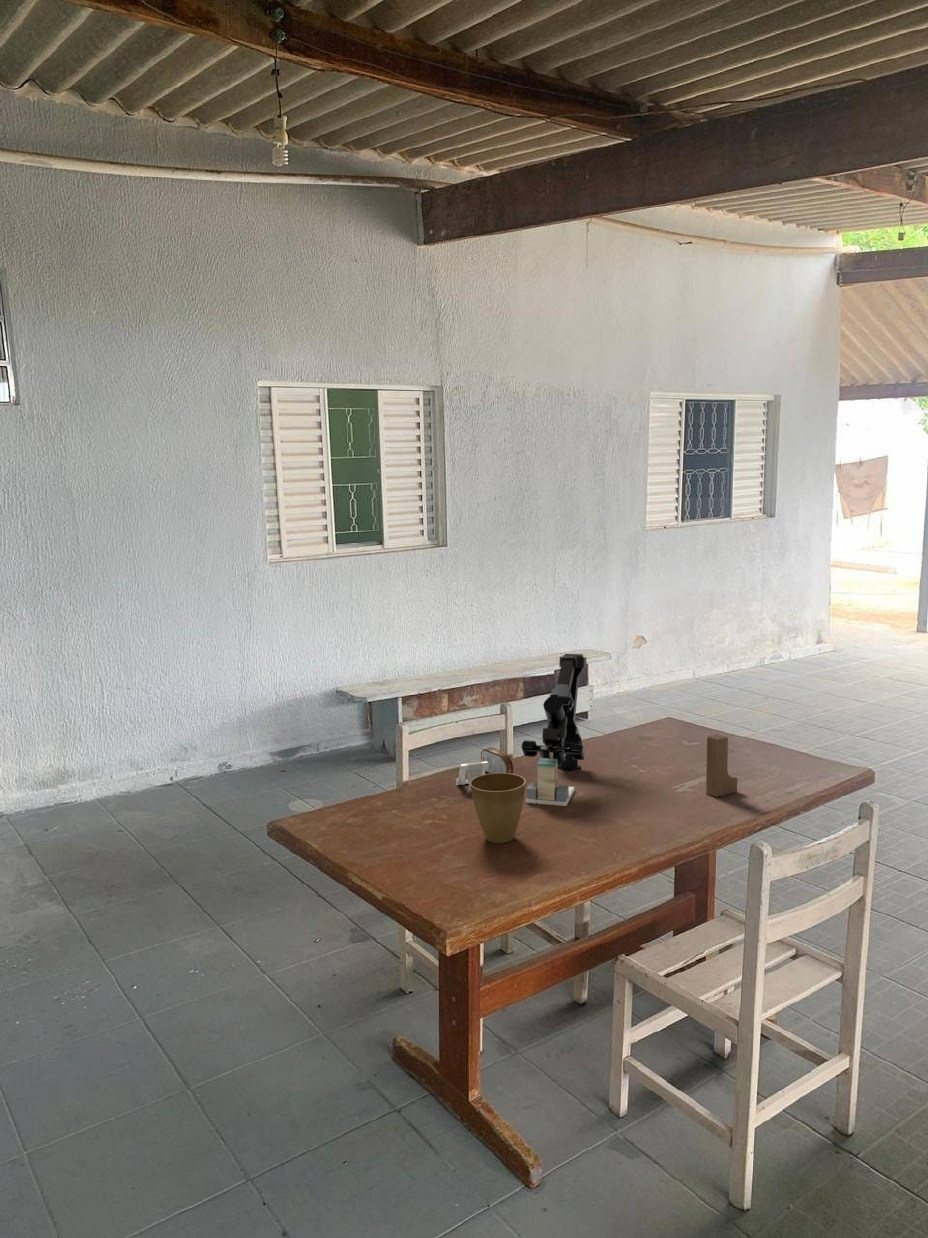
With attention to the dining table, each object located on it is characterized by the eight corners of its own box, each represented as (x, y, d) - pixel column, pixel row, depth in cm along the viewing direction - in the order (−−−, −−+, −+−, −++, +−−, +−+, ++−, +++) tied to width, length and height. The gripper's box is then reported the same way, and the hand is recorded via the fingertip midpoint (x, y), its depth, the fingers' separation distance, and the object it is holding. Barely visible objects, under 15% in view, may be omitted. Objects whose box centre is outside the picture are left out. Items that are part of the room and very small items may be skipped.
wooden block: (726, 788, 283) (727, 731, 280) (737, 792, 279) (738, 734, 277) (705, 794, 278) (706, 736, 276) (717, 798, 275) (718, 739, 272)
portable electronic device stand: (481, 781, 295) (481, 756, 294) (490, 789, 288) (489, 763, 286) (456, 785, 292) (455, 759, 291) (464, 793, 285) (463, 766, 284)
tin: (514, 780, 295) (514, 754, 294) (506, 782, 294) (506, 756, 292) (487, 768, 308) (486, 744, 306) (479, 770, 306) (478, 746, 305)
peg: (541, 793, 278) (540, 758, 276) (557, 794, 277) (557, 759, 275) (537, 799, 273) (537, 763, 272) (554, 800, 272) (554, 764, 270)
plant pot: (497, 823, 259) (496, 768, 256) (538, 837, 248) (537, 780, 246) (459, 839, 249) (458, 782, 246) (500, 854, 238) (498, 794, 236)
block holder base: (536, 787, 288) (535, 774, 287) (574, 790, 284) (574, 777, 283) (526, 802, 275) (526, 788, 274) (566, 806, 271) (566, 791, 271)
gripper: (522, 714, 282) (514, 760, 273) (583, 718, 276) (576, 764, 268) (528, 732, 291) (520, 777, 282) (587, 736, 285) (581, 782, 276)
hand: (549, 775), depth 277 cm, fingers closed, pressing on peg
